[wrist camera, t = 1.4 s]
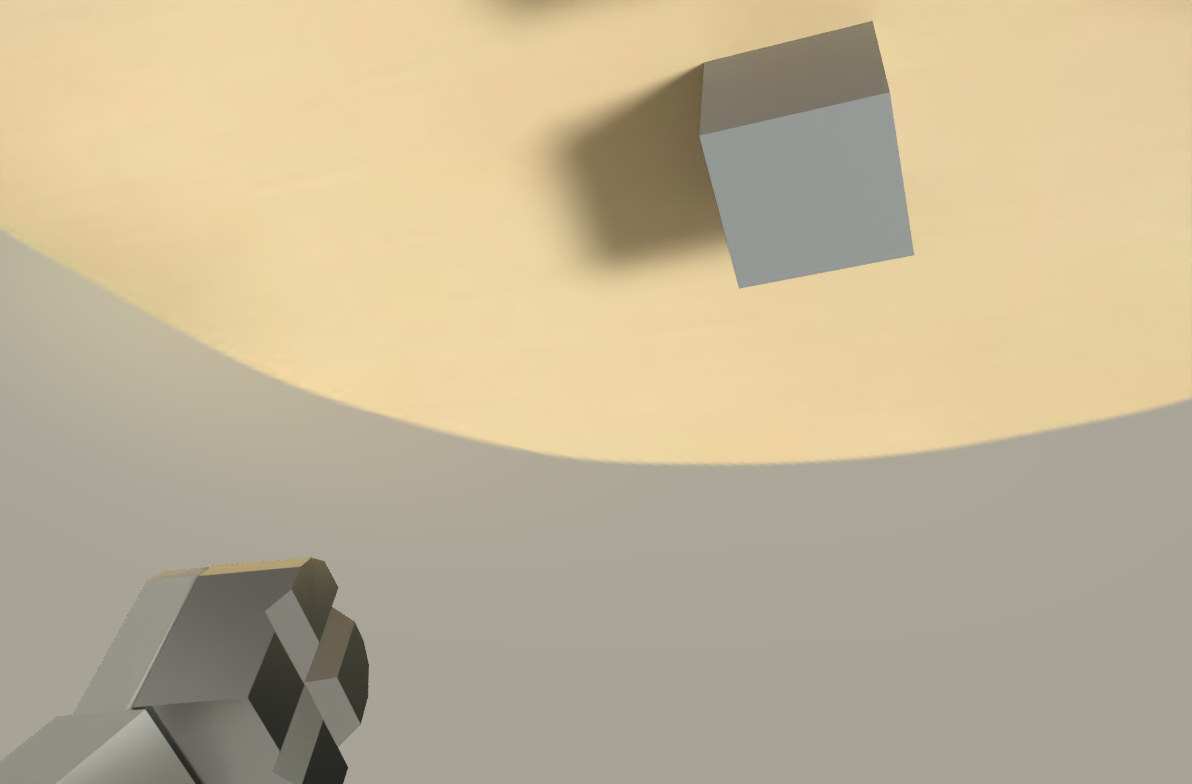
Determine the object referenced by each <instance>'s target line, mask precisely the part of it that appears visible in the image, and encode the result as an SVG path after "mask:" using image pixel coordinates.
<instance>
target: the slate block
mask: <svg viewBox="0 0 1192 784" xmlns="http://www.w3.org/2000/svg"><path fill="white" fill-rule="evenodd" d="M699 138H700V141H701V145H702V149H703V153H704V157H705V160H706V164H707V168H708V172H709V176H710V179H711V183H712V187H713V191H714V195H715V198H716V202H717V206H718V210H719V214H720V217H721V221H722V225H723V229H724V233H725V236H726V240H727V244H728V248H729V252H730V255H731V259H732V263H733V267H734V271H735V275H736V278H737V282H738V286H739V288H744V287H750V286H755V285H760V284H765V283H770V282H776V281H781V280H786V279H791V278H797V277H802V276H807V275H812V274H818V273H823V272H828V271H833V270H838V269H844V268H849V267H854V266H859V265H865V264H870V263H875V262H880V261H886V260H891V259H896V258H901V257H906V256H912V255H914V252H913V245H912V239H911V232H910V225H909V218H908V212H907V205H906V198H905V192H904V185H903V178H902V171H901V165H900V158H899V151H898V145H897V138H896V131H895V124H894V118H893V111H892V104H891V98H890V91H889V87H888V83H887V79H886V75H885V71H884V67H883V62H882V58H881V54H880V50H879V46H878V42H877V38H876V34H875V30H874V25H873V21H871V22H867V23H863V24H859V25H855V26H851V27H847V28H843V29H839V30H835V31H830V32H826V33H822V34H818V35H814V36H810V37H806V38H802V39H798V40H794V41H790V42H786V43H782V44H778V45H773V46H769V47H765V48H761V49H757V50H753V51H749V52H745V53H741V54H737V55H733V56H729V57H725V58H721V59H716V60H712V61H708V62H704V70H703V85H702V100H701V115H700V130H699Z"/></svg>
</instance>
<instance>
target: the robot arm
mask: <svg viewBox="0 0 1192 784" xmlns="http://www.w3.org/2000/svg"><path fill="white" fill-rule="evenodd" d="M337 590H338V586H337V584H336V582H335V580H334V578H333V577H332V574H331V573H330V571H329V569H328V567H327V565H326V563H325V562H324V561H322V560H318V559H314V558H299V559H288V560H275V561H262V562H251V563H237V564H225V565H213V566H211V567H205V568H190V569H177V570H164V571H161V572H160V573H158V574H156V575H155V576H153V577H152V578H151V579H149V580H147V582H146V584H145V586H144V587H143V589H142V591H141V593H140V594H139V596H138V598H137V600H136V602H135V603H134V605H133V607H132V609H131V611H130V613H129V614H128V616H127V618H126V620H125V622H124V623H123V625H122V627H121V629H120V630H119V632H118V634H117V636H116V638H115V639H114V641H113V643H112V645H111V647H110V649H109V650H108V652H107V654H106V656H105V657H104V659H103V661H102V663H101V665H100V666H99V668H98V670H97V672H96V674H95V676H94V677H93V679H92V681H91V683H90V685H89V687H88V688H87V690H86V692H85V694H84V696H83V697H82V699H81V701H80V703H79V704H78V706H77V708H76V710H75V712H74V713H73V715H67V716H57V717H55V718H54V719H53V720H52V721H50V722H49V723H48V724H47V725H45V726H44V727H43V728H42V729H41V730H39V731H38V732H37V733H35V734H34V735H33V736H31V737H30V738H29V739H28V740H26V741H25V742H24V743H23V744H22V745H20V746H19V747H18V748H16V749H15V750H14V751H13V752H11V753H10V754H9V755H8V756H6V757H5V758H4V759H2V760H1V761H0V784H343V782H344V779H345V776H346V772H347V769H348V766H347V764H346V762H345V760H344V758H343V756H342V754H341V752H340V750H339V748H338V747H339V746H340V745H341V744H342V742H344V741H345V740H346V739H347V737H348V736H350V735H351V734H352V733H353V732H354V730H356V729H357V728H358V726H359V725H360V724H361V721H362V718H363V713H364V710H365V706H366V703H367V699H368V676H369V664H368V659H367V654H366V650H365V645H364V641H363V639H362V636H361V634H360V632H359V630H358V628H357V625H356V623H355V622H354V621H353V620H351V619H350V618H348V617H347V616H345V615H343V614H342V613H340V612H339V611H337V610H336V609H334V608H333V607H332V605H333V602H334V598H335V596H336V593H337Z"/></svg>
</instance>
